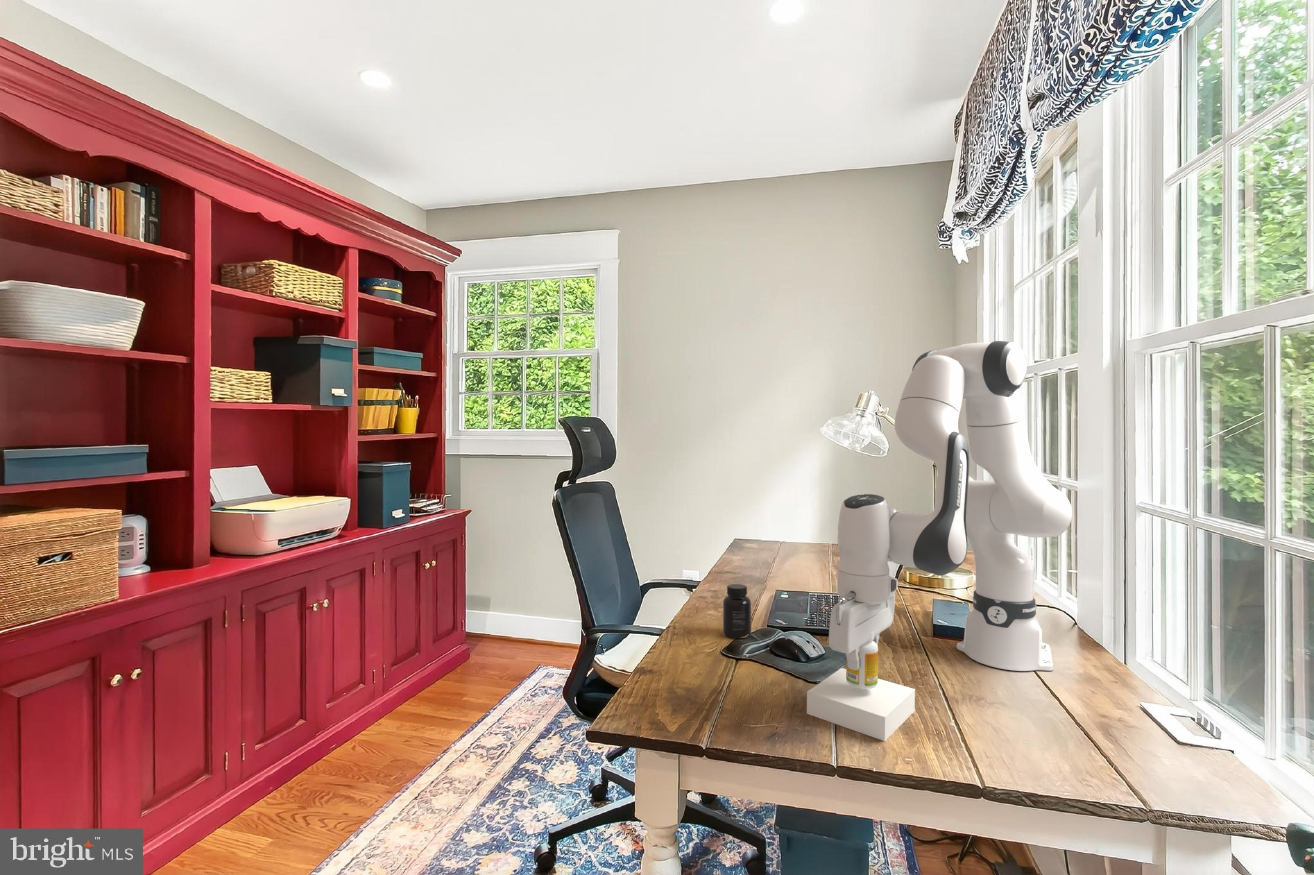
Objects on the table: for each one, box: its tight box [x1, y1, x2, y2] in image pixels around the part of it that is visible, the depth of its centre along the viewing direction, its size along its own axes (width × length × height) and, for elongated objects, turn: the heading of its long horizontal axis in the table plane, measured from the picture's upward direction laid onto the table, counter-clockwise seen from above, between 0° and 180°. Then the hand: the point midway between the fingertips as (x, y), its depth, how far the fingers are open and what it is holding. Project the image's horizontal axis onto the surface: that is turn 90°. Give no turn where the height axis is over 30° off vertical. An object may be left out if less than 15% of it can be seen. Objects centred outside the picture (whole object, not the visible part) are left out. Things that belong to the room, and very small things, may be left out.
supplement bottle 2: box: [845, 632, 879, 689], centre depth 109 cm, size 5×5×10 cm
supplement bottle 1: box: [722, 583, 752, 640], centre depth 149 cm, size 7×7×12 cm
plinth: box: [806, 667, 916, 742], centre depth 109 cm, size 14×14×4 cm
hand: (862, 662), depth 109 cm, fingers closed on supplement bottle 2, 5 cm apart
